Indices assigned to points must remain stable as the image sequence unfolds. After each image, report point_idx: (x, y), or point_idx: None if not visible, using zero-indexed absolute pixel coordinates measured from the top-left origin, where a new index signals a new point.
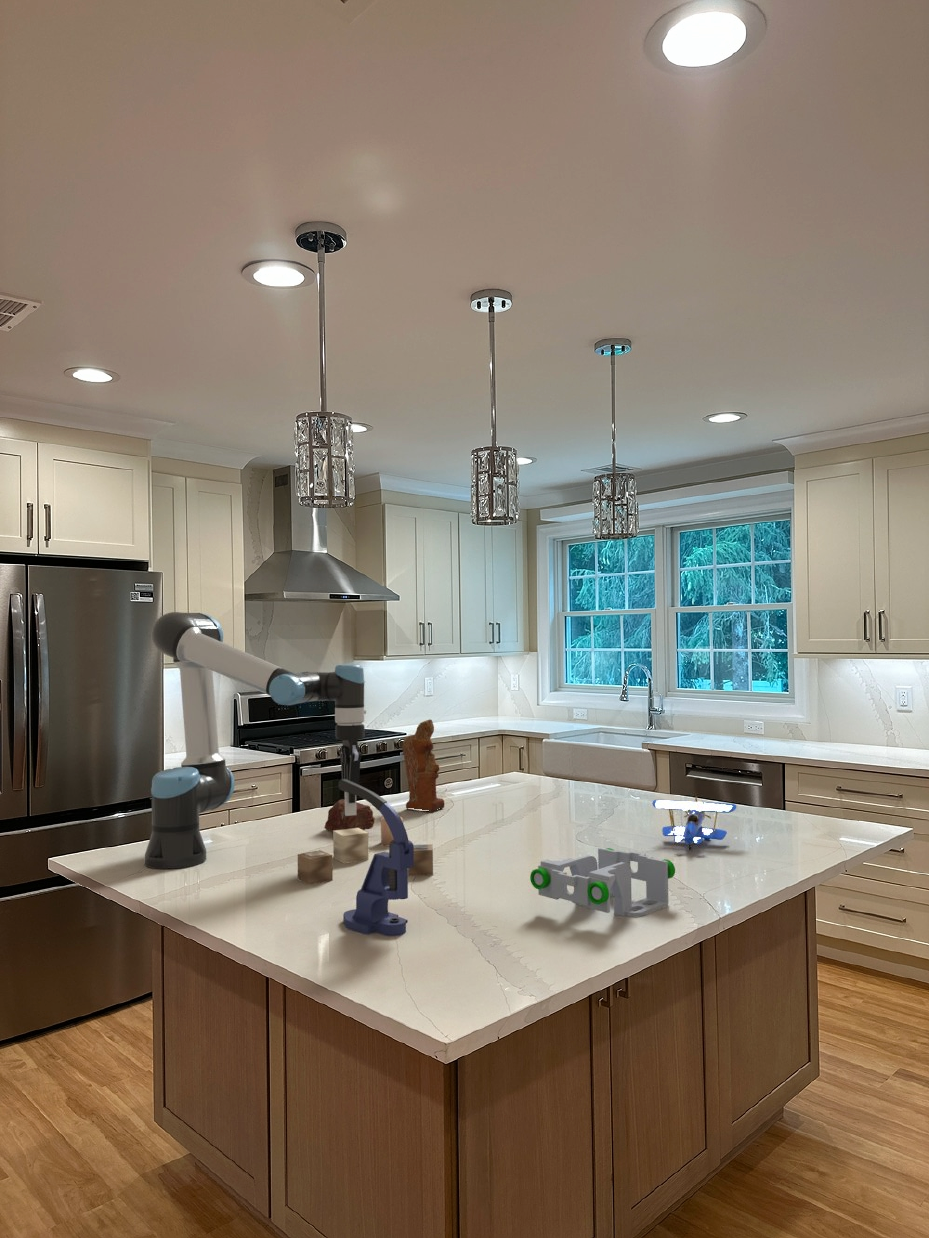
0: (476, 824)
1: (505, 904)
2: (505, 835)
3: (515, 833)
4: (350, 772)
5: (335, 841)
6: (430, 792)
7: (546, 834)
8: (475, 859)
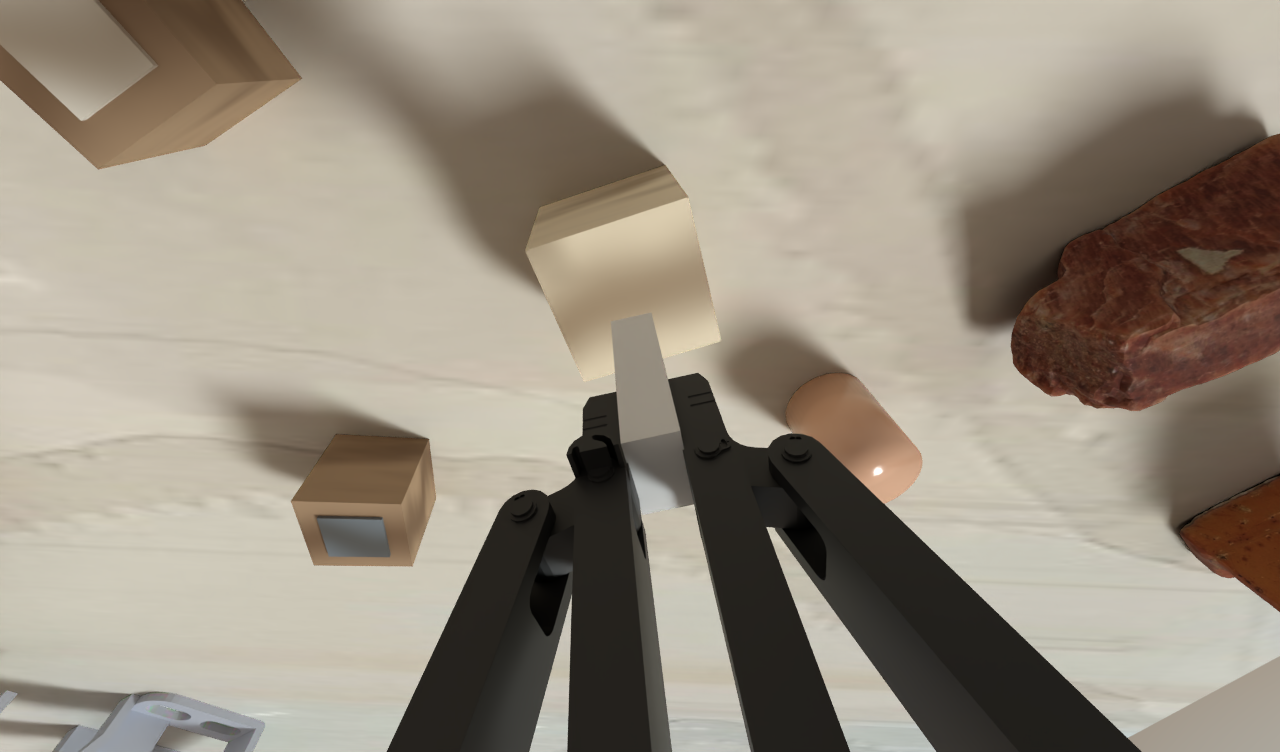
0: None
1: (66, 610)
2: None
3: None
4: (407, 718)
5: (644, 195)
6: (1263, 581)
7: None
8: None
